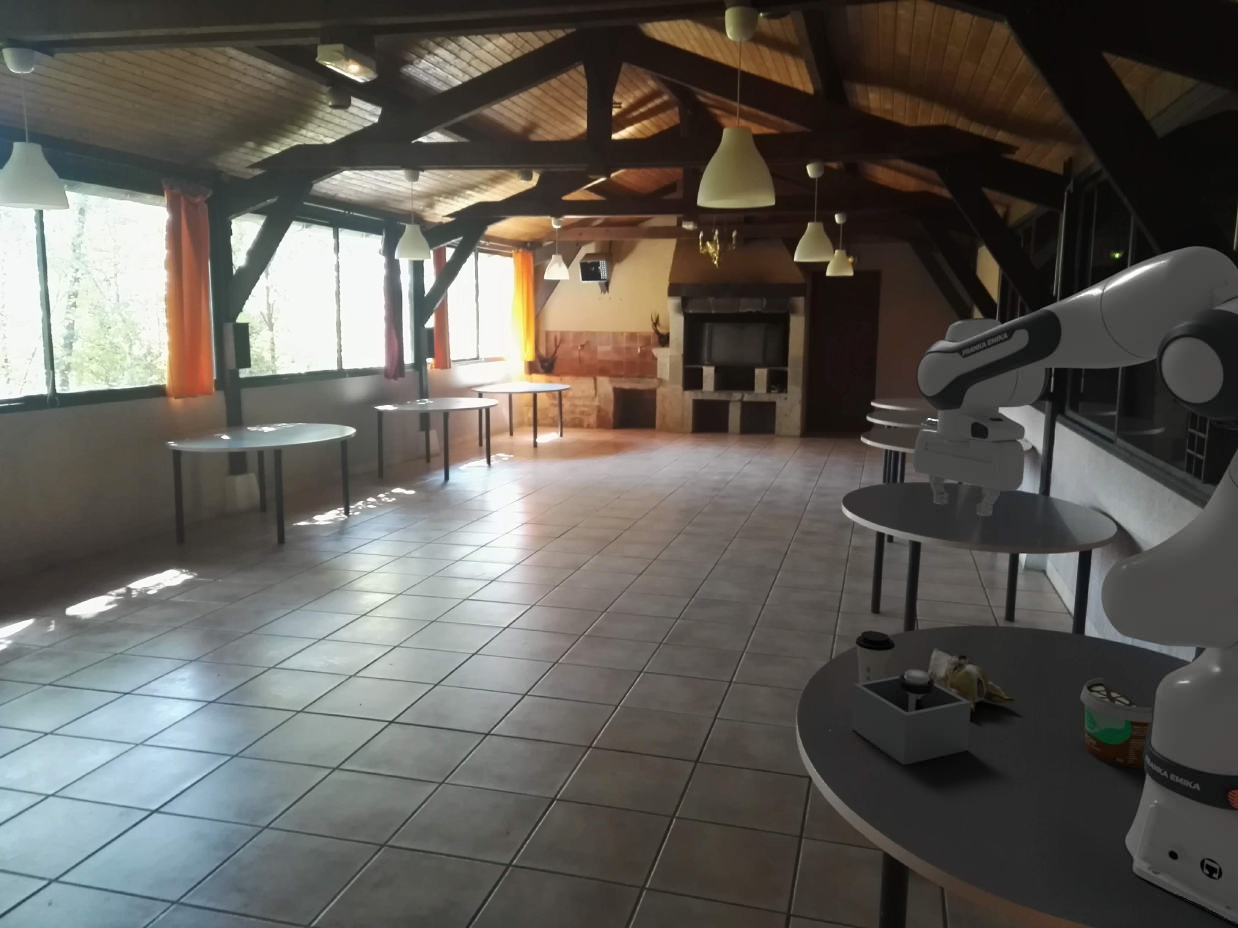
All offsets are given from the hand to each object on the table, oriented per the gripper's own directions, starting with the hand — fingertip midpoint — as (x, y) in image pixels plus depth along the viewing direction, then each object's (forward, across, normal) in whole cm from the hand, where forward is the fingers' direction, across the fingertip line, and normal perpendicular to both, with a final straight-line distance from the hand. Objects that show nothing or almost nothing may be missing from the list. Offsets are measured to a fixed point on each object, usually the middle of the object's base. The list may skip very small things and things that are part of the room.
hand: (961, 509), depth 140 cm
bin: (+37, +1, -9) cm, 38 cm away
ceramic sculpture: (+38, -8, +10) cm, 40 cm away
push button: (+36, +1, -8) cm, 37 cm away
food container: (+37, +16, +16) cm, 44 cm away
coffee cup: (+37, -18, -1) cm, 41 cm away
